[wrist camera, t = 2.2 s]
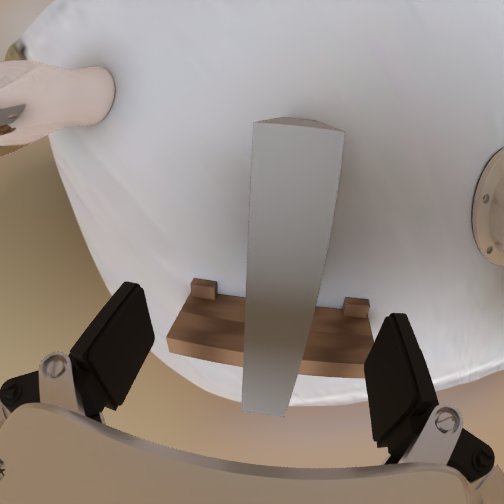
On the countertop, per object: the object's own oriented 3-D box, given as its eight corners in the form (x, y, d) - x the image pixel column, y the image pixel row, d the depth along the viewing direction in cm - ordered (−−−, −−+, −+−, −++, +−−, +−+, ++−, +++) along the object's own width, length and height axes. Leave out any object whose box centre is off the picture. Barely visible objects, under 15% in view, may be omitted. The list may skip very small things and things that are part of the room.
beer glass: (126, 61, 18) (-23, 57, 5) (113, 133, 21) (-29, 183, 8) (74, 63, 18) (-54, 76, 5) (65, 127, 21) (-57, 170, 8)
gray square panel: (314, 120, 18) (344, 132, 6) (295, 278, 25) (284, 417, 13) (282, 117, 19) (253, 122, 7) (270, 275, 26) (241, 411, 13)
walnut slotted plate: (371, 300, 25) (384, 353, 19) (357, 335, 28) (364, 387, 21) (191, 277, 27) (163, 324, 21) (194, 315, 30) (172, 362, 24)
